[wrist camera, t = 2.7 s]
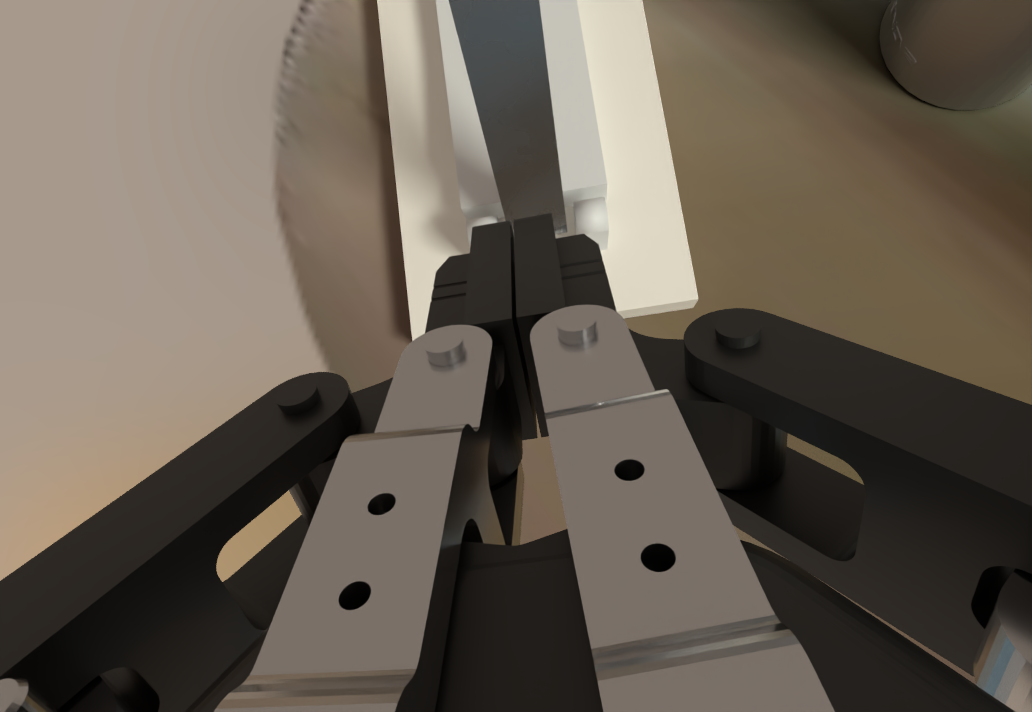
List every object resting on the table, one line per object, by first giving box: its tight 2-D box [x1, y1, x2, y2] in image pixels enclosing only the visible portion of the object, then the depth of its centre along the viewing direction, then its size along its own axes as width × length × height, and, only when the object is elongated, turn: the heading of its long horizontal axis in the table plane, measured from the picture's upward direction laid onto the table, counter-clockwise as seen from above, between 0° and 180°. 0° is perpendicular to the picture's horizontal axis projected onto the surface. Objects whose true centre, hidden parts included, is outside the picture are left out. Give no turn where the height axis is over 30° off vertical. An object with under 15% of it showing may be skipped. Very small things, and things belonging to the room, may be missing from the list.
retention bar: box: [449, 0, 568, 234], centre depth 27 cm, size 3×19×1 cm
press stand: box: [377, 0, 698, 341], centre depth 38 cm, size 16×25×7 cm, turn 8°
